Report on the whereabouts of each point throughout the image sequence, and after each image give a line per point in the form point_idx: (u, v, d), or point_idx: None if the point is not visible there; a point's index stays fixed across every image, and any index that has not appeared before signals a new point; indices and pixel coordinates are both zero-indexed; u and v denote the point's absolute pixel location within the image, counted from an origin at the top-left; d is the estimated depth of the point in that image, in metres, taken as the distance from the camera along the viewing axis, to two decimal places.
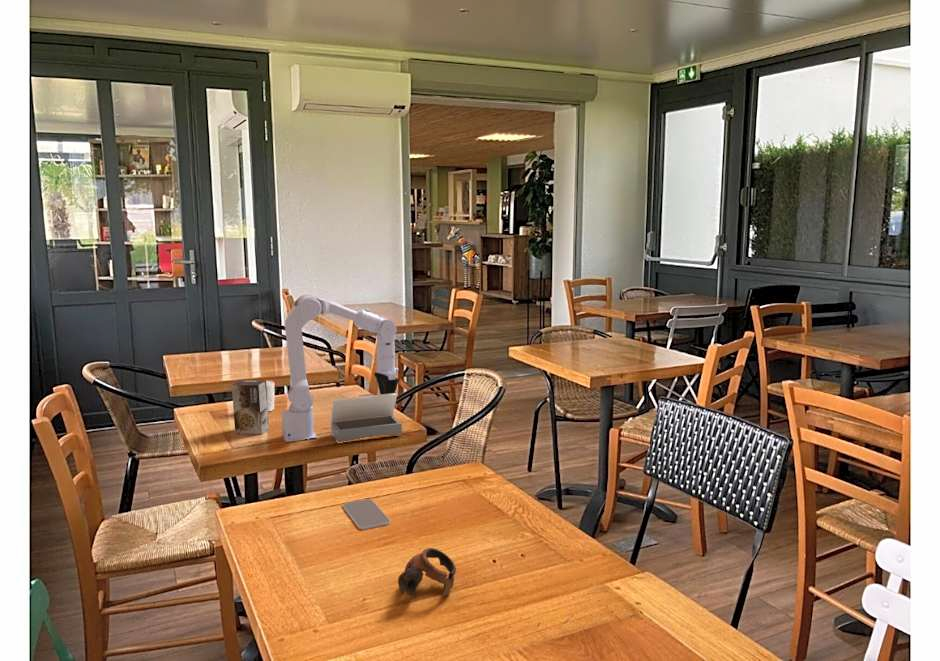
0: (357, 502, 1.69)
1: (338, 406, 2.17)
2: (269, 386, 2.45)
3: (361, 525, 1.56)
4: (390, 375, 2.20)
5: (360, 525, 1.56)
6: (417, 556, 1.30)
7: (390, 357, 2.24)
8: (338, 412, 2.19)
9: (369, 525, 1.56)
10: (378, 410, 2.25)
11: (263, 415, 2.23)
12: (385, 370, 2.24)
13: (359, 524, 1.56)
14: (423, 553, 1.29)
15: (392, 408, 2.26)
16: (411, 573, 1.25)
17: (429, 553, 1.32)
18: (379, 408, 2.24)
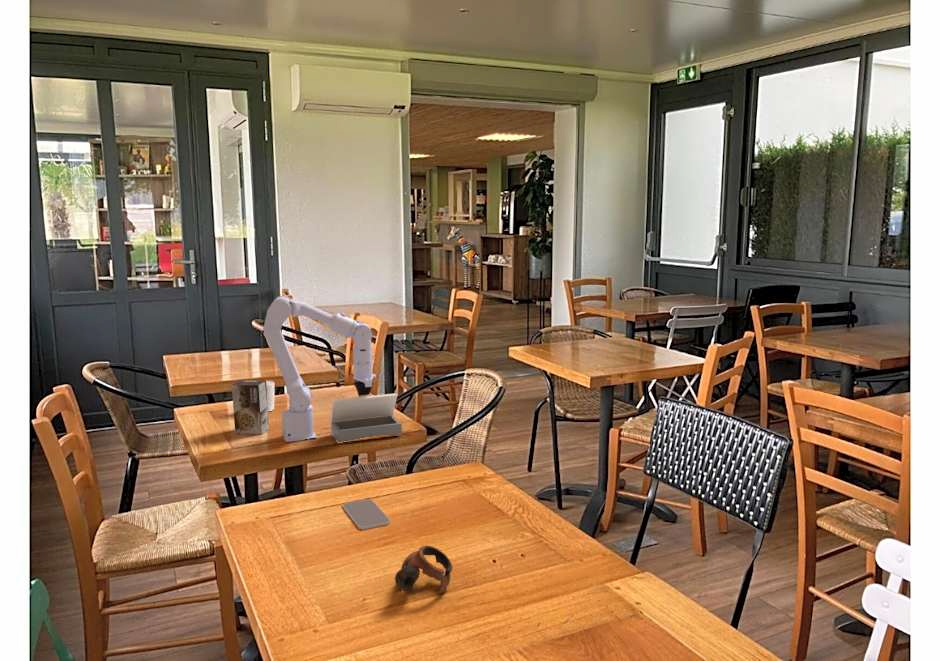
0: (357, 502, 1.69)
1: (338, 406, 2.17)
2: (269, 386, 2.45)
3: (362, 525, 1.56)
4: (367, 382, 2.14)
5: (360, 525, 1.56)
6: (414, 554, 1.31)
7: (367, 363, 2.17)
8: (338, 412, 2.19)
9: (369, 525, 1.56)
10: (378, 410, 2.25)
11: (263, 415, 2.23)
12: (362, 377, 2.17)
13: (359, 524, 1.56)
14: (420, 551, 1.30)
15: (392, 408, 2.26)
16: (408, 570, 1.26)
17: (425, 551, 1.33)
18: (379, 408, 2.24)
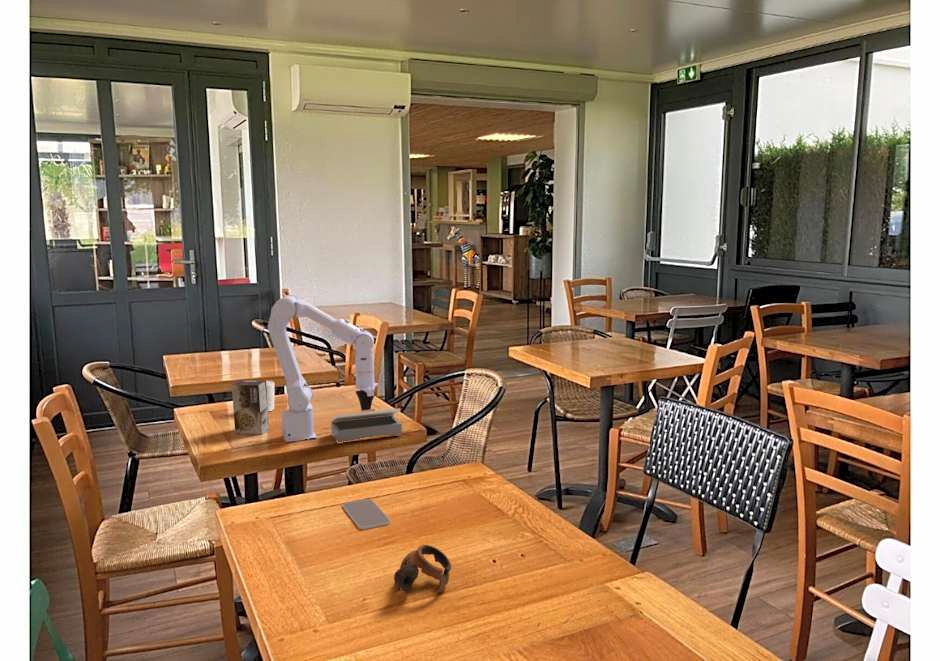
0: (357, 502, 1.69)
1: (340, 418, 2.16)
2: (269, 386, 2.45)
3: (362, 525, 1.56)
4: (369, 391, 2.12)
5: (360, 525, 1.56)
6: (412, 553, 1.31)
7: (369, 372, 2.15)
8: (339, 419, 2.18)
9: (369, 525, 1.56)
10: (379, 415, 2.24)
11: (263, 415, 2.23)
12: (364, 386, 2.16)
13: (359, 524, 1.56)
14: (418, 550, 1.30)
15: (393, 413, 2.25)
16: (407, 569, 1.26)
17: (424, 550, 1.33)
18: (380, 415, 2.23)
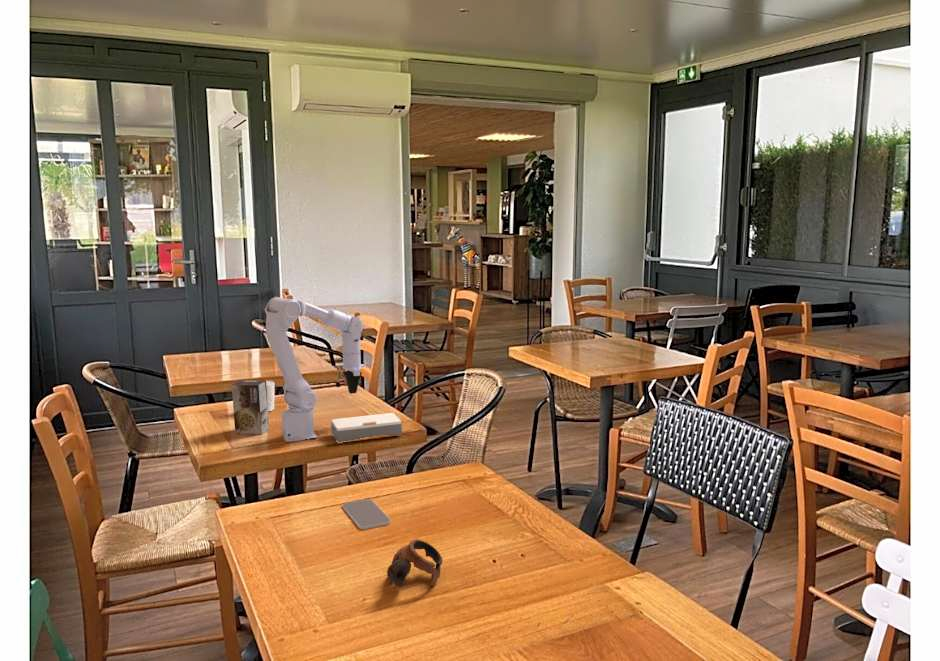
0: (357, 502, 1.69)
1: None
2: (269, 386, 2.45)
3: (362, 525, 1.56)
4: (355, 371, 2.24)
5: (361, 525, 1.56)
6: (404, 548, 1.33)
7: (355, 354, 2.28)
8: None
9: (370, 525, 1.56)
10: None
11: (263, 415, 2.23)
12: (350, 366, 2.28)
13: (360, 524, 1.56)
14: (410, 545, 1.32)
15: None
16: (400, 564, 1.28)
17: (415, 545, 1.35)
18: None
